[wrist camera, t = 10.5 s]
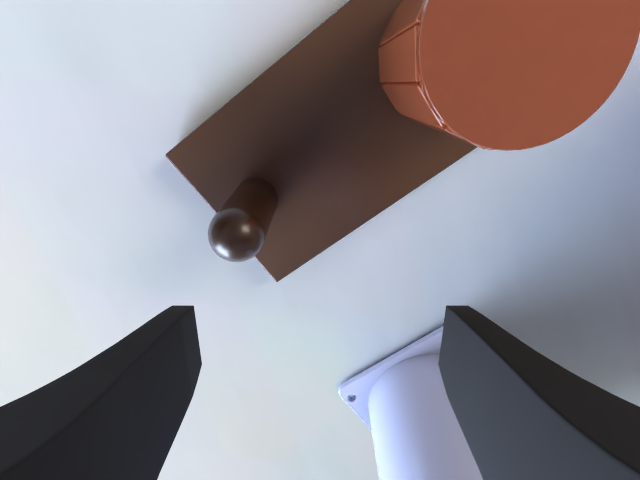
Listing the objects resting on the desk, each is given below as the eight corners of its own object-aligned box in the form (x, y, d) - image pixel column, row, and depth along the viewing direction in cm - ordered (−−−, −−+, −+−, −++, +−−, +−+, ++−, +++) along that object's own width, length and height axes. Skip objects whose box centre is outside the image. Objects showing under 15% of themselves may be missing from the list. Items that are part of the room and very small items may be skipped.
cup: (531, 72, 16) (675, 64, 10) (421, 149, 17) (482, 189, 11) (470, -53, 14) (592, -162, 8) (353, 42, 16) (377, 13, 9)
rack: (518, 109, 18) (624, 123, 12) (278, 272, 21) (261, 352, 15) (429, -62, 15) (503, -161, 9) (173, 151, 18) (99, 185, 12)
